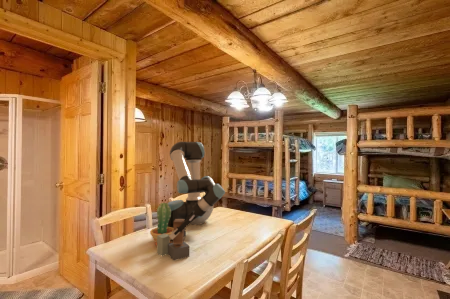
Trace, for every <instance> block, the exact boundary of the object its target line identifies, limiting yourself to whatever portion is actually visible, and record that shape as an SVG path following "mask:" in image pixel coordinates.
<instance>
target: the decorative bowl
mask: <svg viewBox="0 0 450 299" xmlns="http://www.w3.org/2000/svg"><path fill="white" fill-rule="evenodd" d="M213 210H214V206H212V207H211V209H209V210H208V211H206V213H205V214H204V215H203V216H202V217H200V218H196V219H194V220H193V221H192V222H191V223H190V224H189V225H194V226H195V225H196V226H198V225H199V226H200V225H202V224H204V223H205V222H206V221H207V220H208V219H209V218H210V217H211V215H212V213H213Z"/></svg>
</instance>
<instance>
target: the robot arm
mask: <svg viewBox="0 0 450 299" xmlns="http://www.w3.org/2000/svg"><path fill="white" fill-rule="evenodd" d="M205 153H206V151H205V147H204V144H203V143H202V142H200V141H199V142H198V141H178V142H176V143H174V144H173V145H172V146H171V148H170V151H169V157H170V160H171V161H172V163H173V165H174V168H175V172H176V175H177V178H178V180H177V182H176V192H177V193H178V194H187V198H185V201H184V200H182V199H175V200H171V201H169V202H167V204H168V205H169V207H170V208H171V217H170V219H169V222H168V227H172V228H173V222H174V220H175V219H184V222H183V223H182V224H181V225H180V226H179V227H177V229H176V230H175V231H174V232H173V231H172V234H171V235H170V236H169V237H170V238H171V240H172V241H173V239H174V238H175V237H176V236H177V235H178V234H179V233H180V232H182V230H184V238H185V237H186V234H187V233H186V228H187V227H188V226H189V225H191V224H190V223H191V222H192V221H193V220H194V219H196V218H200V217H202V216H203V215H204V214H205V213H206V211H208V210H209V209H211V207H214V206H215V204H217V202H218V201H219V200H221V199H222V197H223V196H224V195H225V194H226V190H225V189H224V187H222V185H220V183H215V181H214V179H213V178H212V177H211V176H209V175H204V176H202V177H201V170H200V169H201V168H200V166H201V164H200V163H201V162H202V160H203V158H204V157H205ZM201 193H205V194H204V195H202V196H201ZM171 240H170V241H171Z"/></svg>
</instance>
